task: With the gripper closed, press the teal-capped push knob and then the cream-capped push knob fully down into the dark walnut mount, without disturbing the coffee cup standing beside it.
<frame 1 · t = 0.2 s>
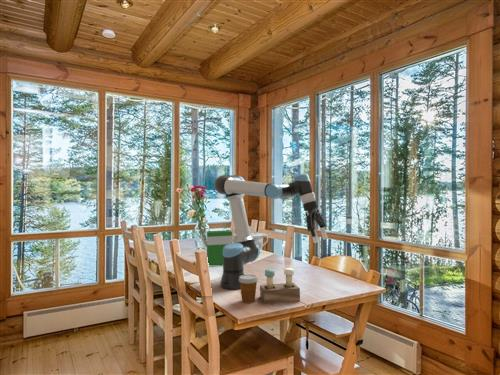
hand: (321, 241, 178), 28 cm above the table, tool tilted 20°, fingers open, 13 cm apart
disposable coffee cup: (248, 301, 169), on the table
chamber pot: (248, 254, 283), on the table
knob 2: (289, 278, 173), point 10 cm above the table, slide at 0.0 cm
knob 1: (269, 279, 171), point 10 cm above the table, slide at 0.0 cm
hardback book: (219, 264, 249), on the table
mount: (279, 298, 172), on the table
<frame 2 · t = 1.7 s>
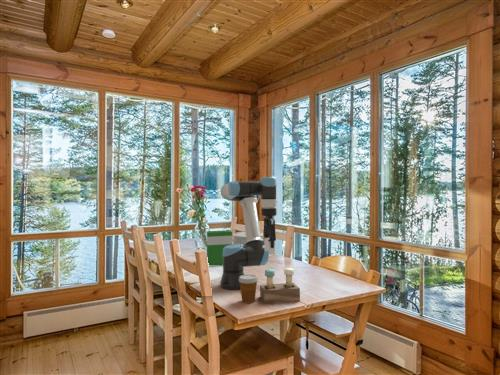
hand: (269, 252, 171), 24 cm above the table, tool pointing down, fingers open, 9 cm apart
nothing on the table moved.
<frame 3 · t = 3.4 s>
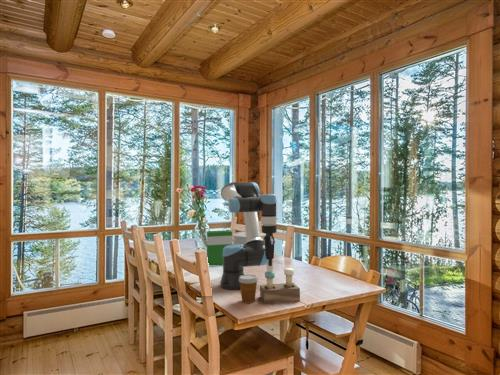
hand: (269, 271, 171), 14 cm above the table, tool pointing down, fingers closed
knob 1: (269, 281, 171), point 9 cm above the table, slide at 0.9 cm, touching gripper
everything else where it was.
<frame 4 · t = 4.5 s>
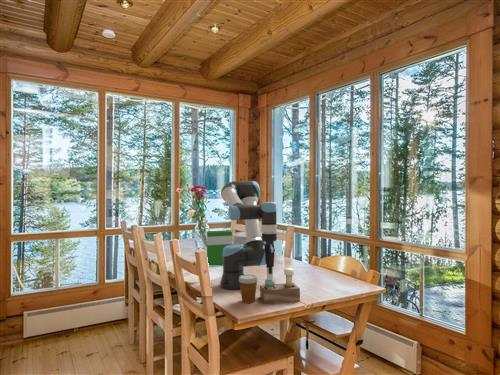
hand: (269, 279, 171), 10 cm above the table, tool pointing down, fingers closed
knob 1: (269, 289, 171), point 5 cm above the table, slide at 4.9 cm, touching gripper
everything else where it was.
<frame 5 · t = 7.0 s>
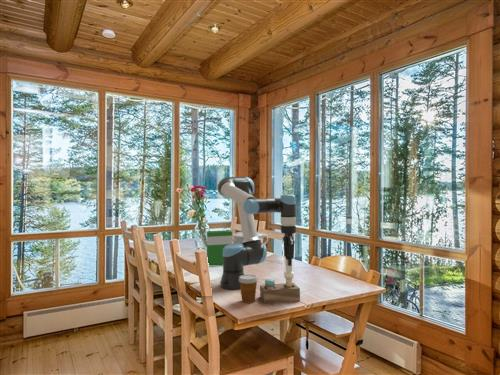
hand: (289, 271, 173), 13 cm above the table, tool pointing down, fingers closed
knob 2: (289, 281, 173), point 9 cm above the table, slide at 1.5 cm, touching gripper
knob 1: (269, 289, 171), point 5 cm above the table, slide at 4.9 cm
everything else where it was.
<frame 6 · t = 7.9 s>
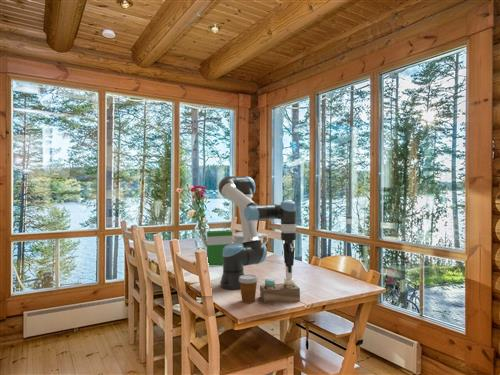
hand: (289, 278, 173), 10 cm above the table, tool pointing down, fingers closed
knob 2: (289, 287, 173), point 5 cm above the table, slide at 4.9 cm, touching gripper
everything else where it was.
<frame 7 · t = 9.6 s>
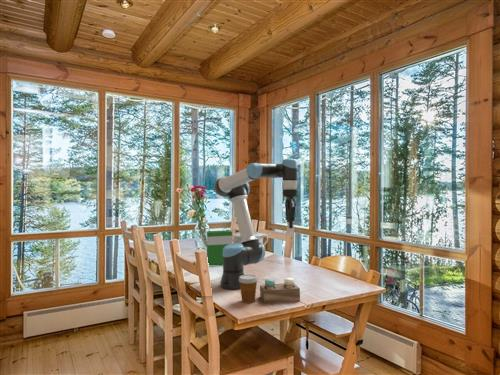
hand: (290, 234, 178), 32 cm above the table, tool pointing down, fingers closed
knob 2: (289, 287, 173), point 5 cm above the table, slide at 4.9 cm
everything else where it was.
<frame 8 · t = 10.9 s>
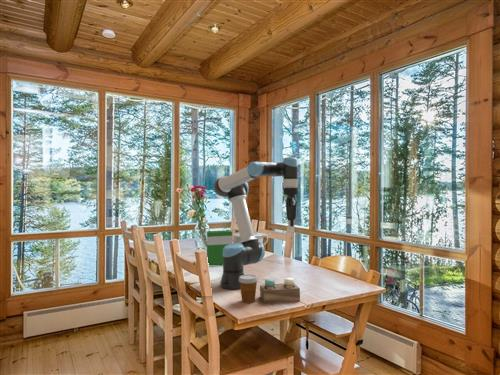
hand: (291, 232, 178), 32 cm above the table, tool pointing down, fingers closed
nothing on the table moved.
at the end: knob 1 slide at 4.9 cm; knob 2 slide at 4.9 cm; disposable coffee cup tilted 0° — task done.
